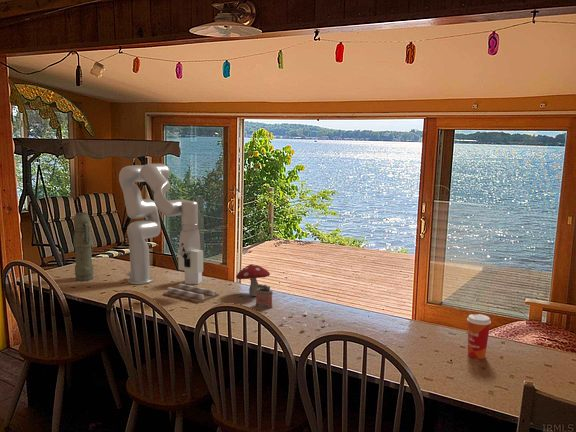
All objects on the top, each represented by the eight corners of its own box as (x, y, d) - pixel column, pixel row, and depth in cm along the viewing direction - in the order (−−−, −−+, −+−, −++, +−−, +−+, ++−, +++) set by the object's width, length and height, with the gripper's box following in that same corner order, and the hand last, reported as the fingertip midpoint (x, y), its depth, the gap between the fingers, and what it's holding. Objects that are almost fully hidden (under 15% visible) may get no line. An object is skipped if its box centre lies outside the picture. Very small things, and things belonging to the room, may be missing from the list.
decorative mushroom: (231, 298, 233) (231, 267, 231) (243, 289, 249) (243, 259, 246) (263, 301, 229) (263, 269, 227) (273, 291, 244) (274, 262, 242)
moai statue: (85, 275, 270) (83, 211, 265) (98, 278, 263) (95, 213, 258) (70, 278, 263) (67, 212, 258) (83, 282, 256) (79, 215, 251)
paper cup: (461, 351, 177) (463, 313, 175) (481, 351, 177) (484, 313, 175) (470, 361, 169) (473, 321, 167) (492, 360, 170) (495, 321, 167)
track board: (163, 295, 237) (163, 288, 237) (184, 288, 249) (184, 282, 248) (198, 303, 226) (198, 296, 225) (218, 295, 237) (218, 289, 237)
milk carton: (202, 281, 262) (201, 245, 259) (198, 284, 255) (197, 248, 252) (188, 280, 263) (188, 245, 260) (184, 284, 256) (184, 247, 253)
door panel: (178, 269, 237) (178, 248, 235) (185, 267, 240) (184, 247, 239) (197, 273, 230) (197, 252, 229) (204, 271, 234) (203, 250, 233)
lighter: (273, 306, 222) (273, 285, 221) (270, 309, 219) (270, 287, 218) (257, 304, 226) (257, 282, 224) (254, 306, 222) (254, 284, 221)
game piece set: (321, 335, 191) (321, 325, 190) (272, 328, 198) (272, 318, 197) (334, 318, 209) (334, 310, 208) (289, 312, 216) (289, 304, 215)
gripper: (196, 224, 241) (196, 261, 244) (171, 229, 227) (172, 268, 230) (208, 226, 237) (208, 263, 240) (183, 230, 223) (184, 270, 226)
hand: (190, 265), depth 235 cm, fingers closed on door panel, 4 cm apart
